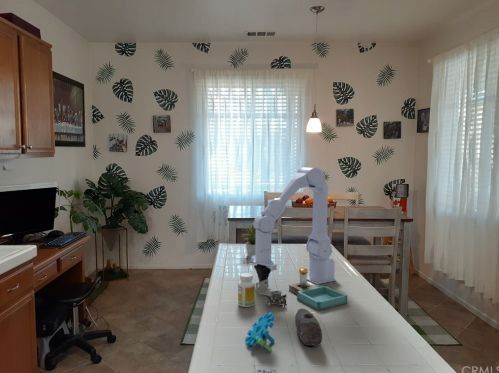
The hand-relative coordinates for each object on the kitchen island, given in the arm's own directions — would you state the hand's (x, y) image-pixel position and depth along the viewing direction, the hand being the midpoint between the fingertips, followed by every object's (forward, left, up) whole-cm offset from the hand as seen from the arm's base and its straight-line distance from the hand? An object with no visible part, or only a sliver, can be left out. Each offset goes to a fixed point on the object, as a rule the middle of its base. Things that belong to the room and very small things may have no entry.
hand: (263, 284), depth 136 cm
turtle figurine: (+3, +20, -2) cm, 20 cm away
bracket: (+1, +6, -1) cm, 7 cm away
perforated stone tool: (+10, +38, -1) cm, 39 cm away
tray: (-10, +21, -1) cm, 23 cm away
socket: (-10, +11, -1) cm, 15 cm away
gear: (+23, +35, -1) cm, 42 cm away
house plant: (-19, -41, -1) cm, 46 cm away
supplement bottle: (+13, +11, -1) cm, 17 cm away
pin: (-10, +11, -1) cm, 15 cm away
